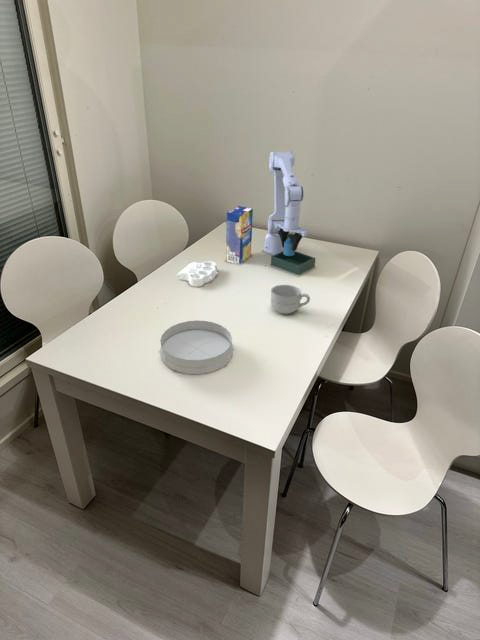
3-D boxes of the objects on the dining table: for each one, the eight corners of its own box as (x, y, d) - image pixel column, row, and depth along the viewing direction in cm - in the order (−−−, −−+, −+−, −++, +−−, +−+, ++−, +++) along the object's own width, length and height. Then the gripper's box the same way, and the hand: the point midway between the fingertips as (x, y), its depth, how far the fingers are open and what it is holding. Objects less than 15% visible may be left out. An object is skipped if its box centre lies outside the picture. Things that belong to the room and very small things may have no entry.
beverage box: (250, 256, 207) (252, 208, 195) (239, 264, 198) (241, 215, 187) (237, 252, 209) (238, 205, 198) (226, 261, 201) (226, 212, 190)
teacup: (264, 312, 164) (266, 292, 159) (277, 299, 172) (278, 280, 168) (301, 322, 158) (303, 302, 154) (311, 309, 167) (314, 289, 162)
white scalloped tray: (193, 265, 197) (224, 271, 192) (173, 282, 182) (207, 289, 178) (193, 258, 195) (224, 263, 191) (173, 274, 180) (207, 281, 176)
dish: (196, 325, 155) (195, 313, 152) (246, 350, 143) (247, 337, 140) (145, 354, 140) (144, 340, 137) (197, 384, 128) (197, 370, 125)
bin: (270, 266, 198) (271, 256, 196) (287, 258, 206) (288, 248, 203) (298, 276, 190) (299, 266, 187) (314, 267, 198) (315, 257, 195)
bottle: (281, 253, 190) (282, 235, 186) (287, 250, 193) (289, 232, 189) (290, 257, 188) (291, 237, 183) (296, 253, 191) (298, 235, 186)
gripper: (271, 214, 184) (269, 246, 191) (301, 223, 176) (298, 256, 183) (282, 210, 188) (279, 242, 195) (311, 219, 180) (307, 251, 187)
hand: (289, 248), depth 189 cm, fingers closed on bottle, 4 cm apart
